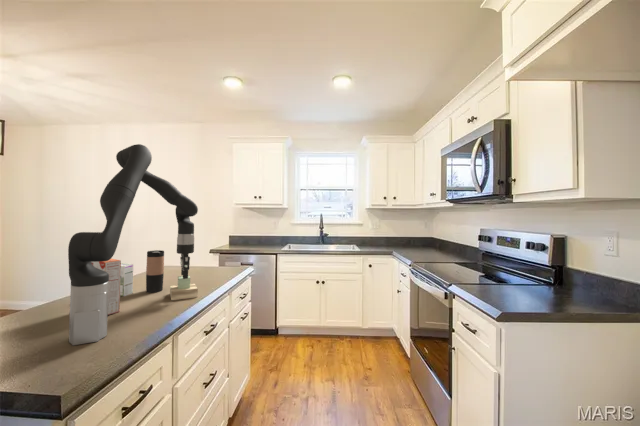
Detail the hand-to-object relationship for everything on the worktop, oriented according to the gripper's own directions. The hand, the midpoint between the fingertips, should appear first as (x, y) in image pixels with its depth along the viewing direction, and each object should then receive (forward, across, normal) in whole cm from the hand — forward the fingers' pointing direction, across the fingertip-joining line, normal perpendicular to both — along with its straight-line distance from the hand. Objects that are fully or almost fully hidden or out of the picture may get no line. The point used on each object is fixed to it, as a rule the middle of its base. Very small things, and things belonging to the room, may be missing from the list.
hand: (184, 276), depth 133 cm
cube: (+5, 0, 0) cm, 5 cm away
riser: (+9, 0, 0) cm, 9 cm away
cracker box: (+10, -9, +30) cm, 33 cm away
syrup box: (+9, +14, +25) cm, 30 cm away
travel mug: (+9, +15, +12) cm, 22 cm away
